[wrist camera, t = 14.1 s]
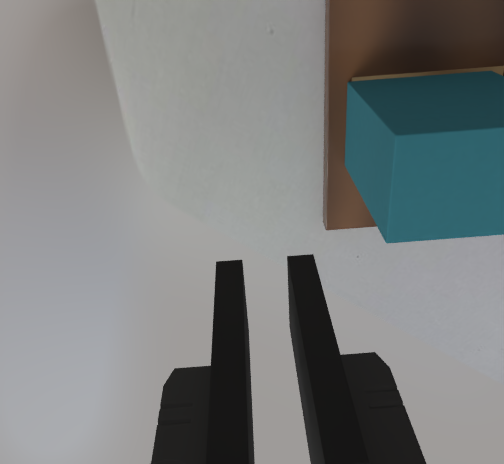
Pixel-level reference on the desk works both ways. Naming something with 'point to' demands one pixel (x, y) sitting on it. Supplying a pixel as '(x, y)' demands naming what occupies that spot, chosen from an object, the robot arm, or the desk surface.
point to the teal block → (429, 154)
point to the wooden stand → (395, 68)
